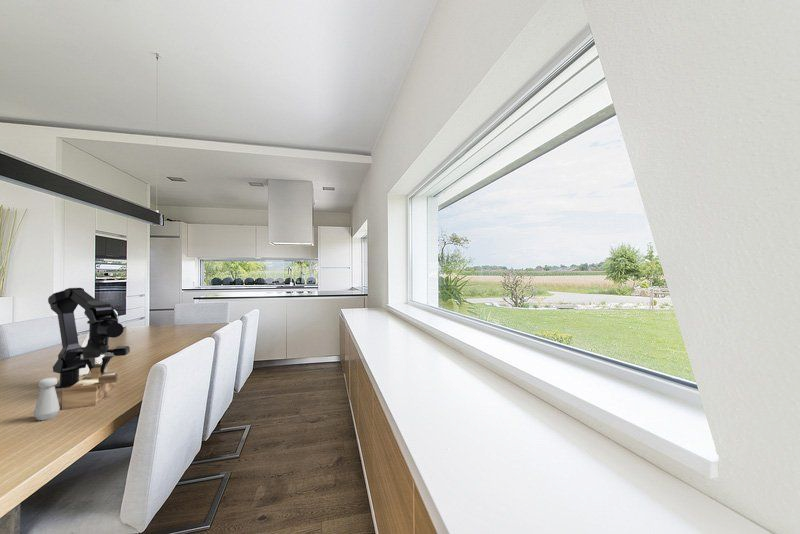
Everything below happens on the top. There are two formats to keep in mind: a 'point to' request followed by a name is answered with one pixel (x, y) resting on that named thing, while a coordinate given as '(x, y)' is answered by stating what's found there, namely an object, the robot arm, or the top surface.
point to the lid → (93, 376)
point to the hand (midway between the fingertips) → (97, 373)
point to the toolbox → (85, 395)
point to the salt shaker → (47, 400)
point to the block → (108, 379)
